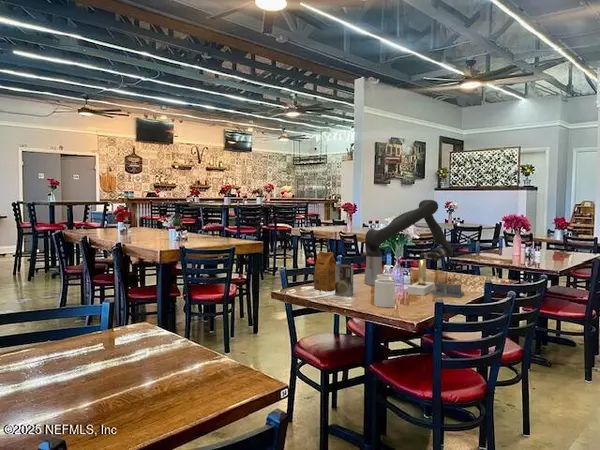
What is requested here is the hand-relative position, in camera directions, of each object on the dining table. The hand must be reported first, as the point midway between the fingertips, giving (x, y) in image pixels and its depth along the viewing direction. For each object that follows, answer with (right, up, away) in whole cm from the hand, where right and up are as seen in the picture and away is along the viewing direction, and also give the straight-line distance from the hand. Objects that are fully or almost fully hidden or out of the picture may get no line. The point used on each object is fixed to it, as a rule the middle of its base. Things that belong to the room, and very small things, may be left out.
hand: (428, 257), depth 268 cm
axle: (-6, -19, -8) cm, 21 cm away
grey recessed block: (-6, -19, -8) cm, 21 cm away
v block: (+6, -19, -16) cm, 26 cm away
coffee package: (-61, -18, -5) cm, 64 cm away
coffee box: (-52, -19, -19) cm, 58 cm away
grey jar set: (-33, -20, -34) cm, 52 cm away
